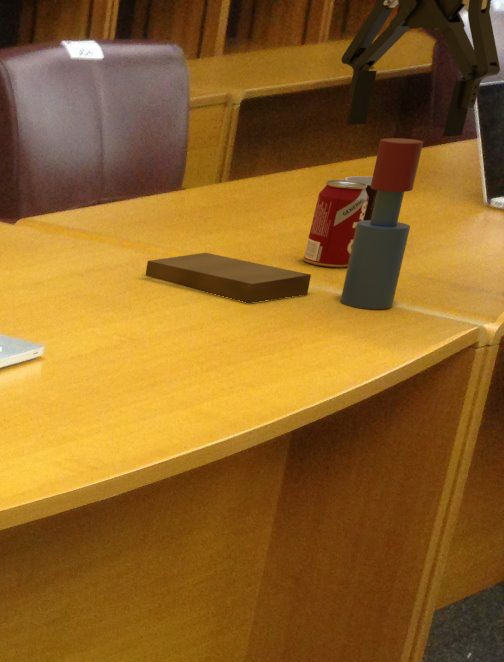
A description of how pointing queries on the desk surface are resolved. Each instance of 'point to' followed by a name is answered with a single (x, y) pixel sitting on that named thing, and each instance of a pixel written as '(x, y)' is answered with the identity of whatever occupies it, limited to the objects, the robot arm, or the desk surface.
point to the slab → (230, 277)
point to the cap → (396, 164)
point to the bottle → (376, 255)
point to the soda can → (336, 223)
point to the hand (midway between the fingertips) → (402, 130)
